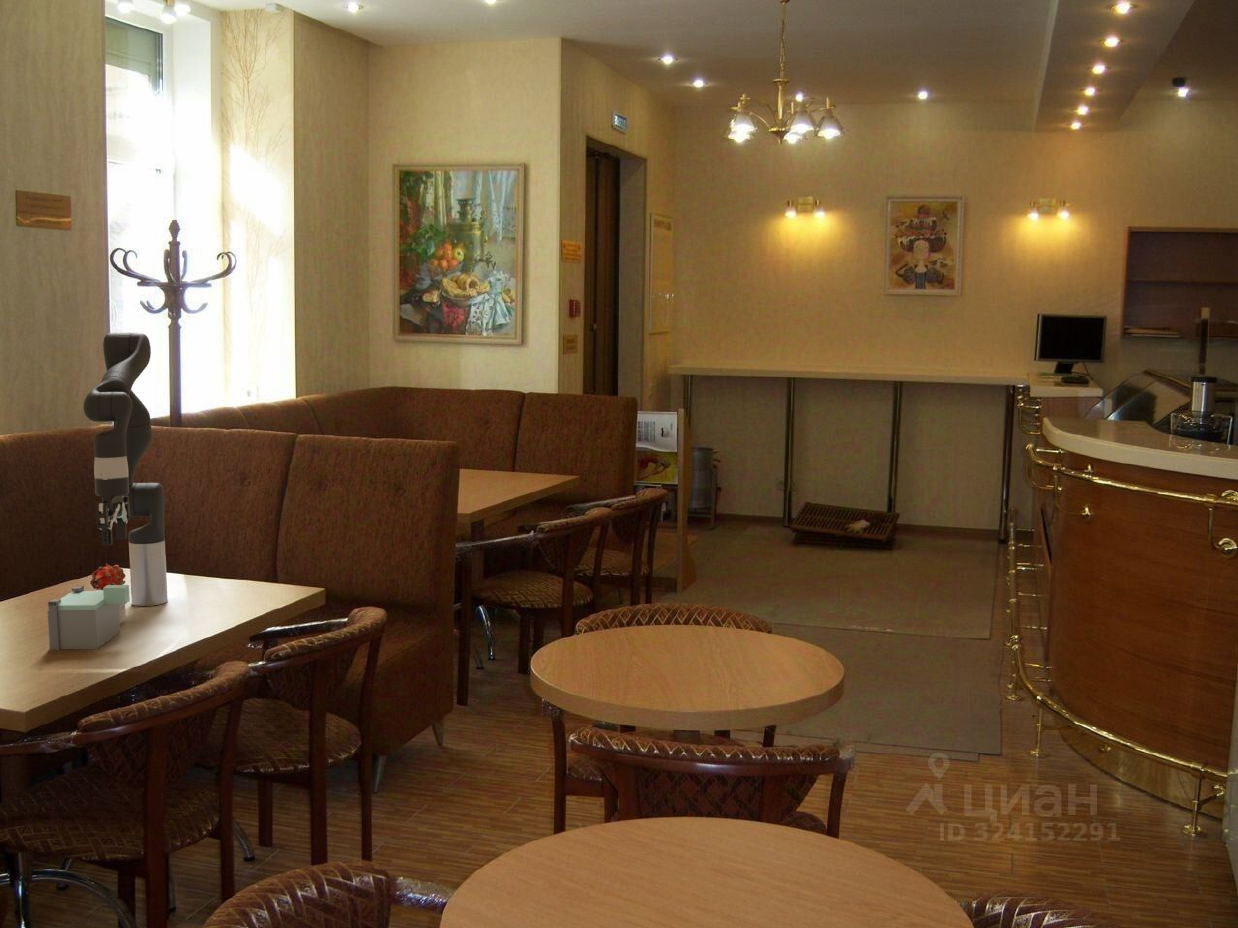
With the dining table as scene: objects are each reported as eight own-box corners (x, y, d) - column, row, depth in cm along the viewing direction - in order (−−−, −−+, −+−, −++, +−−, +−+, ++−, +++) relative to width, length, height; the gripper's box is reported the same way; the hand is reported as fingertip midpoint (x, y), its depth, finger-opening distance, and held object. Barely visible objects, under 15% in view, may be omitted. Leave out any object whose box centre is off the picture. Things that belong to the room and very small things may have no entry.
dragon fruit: (126, 592, 349) (98, 607, 338) (104, 574, 350) (75, 589, 339) (137, 571, 346) (109, 586, 335) (115, 553, 347) (86, 567, 336)
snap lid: (73, 595, 297) (72, 579, 296) (137, 595, 297) (136, 579, 297) (49, 610, 282) (48, 593, 282) (116, 609, 283) (115, 593, 283)
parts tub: (76, 633, 299) (73, 585, 297) (121, 633, 300) (119, 585, 298) (48, 653, 283) (45, 602, 281) (96, 652, 283) (93, 601, 282)
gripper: (108, 472, 295) (111, 537, 296) (82, 479, 280) (86, 547, 282) (138, 472, 295) (141, 537, 296) (115, 478, 280) (118, 547, 282)
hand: (114, 542), depth 289 cm, fingers open, 8 cm apart
